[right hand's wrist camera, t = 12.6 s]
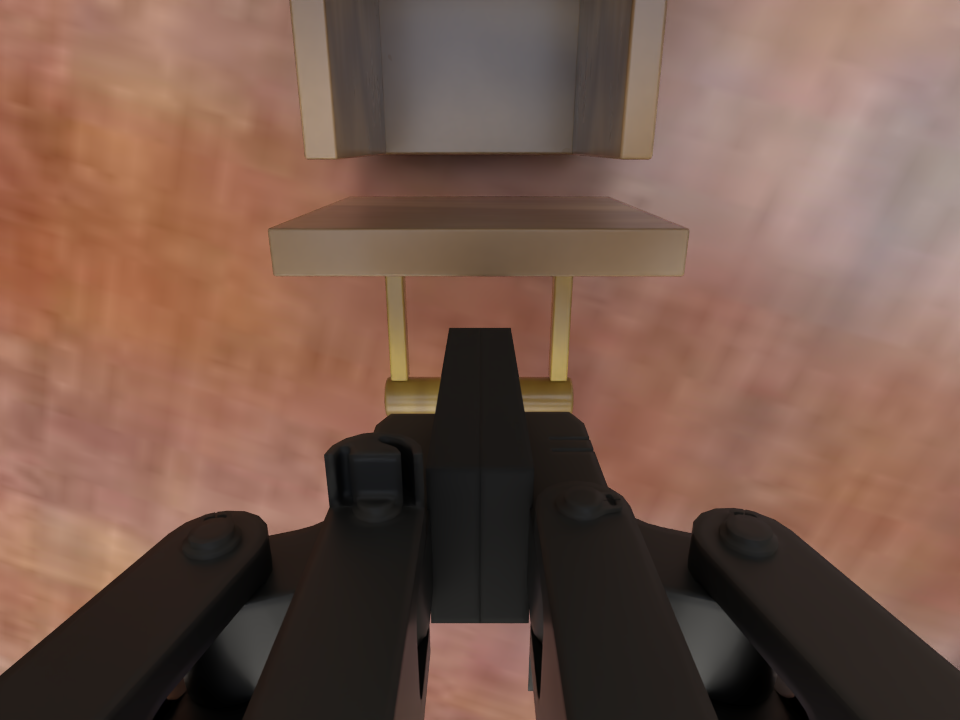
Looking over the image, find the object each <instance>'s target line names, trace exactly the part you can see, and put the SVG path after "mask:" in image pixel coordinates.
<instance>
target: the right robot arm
mask: <svg viewBox="0 0 960 720" xmlns="http://www.w3.org/2000/svg"><path fill="white" fill-rule="evenodd" d="M324 458H325V468H326V477H327V486H328V496H329V505H330V508H329V510H328V513H327V515H326V517H325V520H324V521H323V522H320V523H318V524H316V525H313V526H310V527H307V528H303V529H299V530H295V531H290V532H285V533H280V534H275V535H271V536H269V535H268V528H267V524H266V523H265V522H264V521H263V520H262V519H261V518H260V517H259V516H257V515H254V514H251V513H248V512H245V511H222V512H218V513H210V514H206V515H204V516H201V517H199V518H196V519H194V520H191V521H189V522H186V523H185V524H183V525H181V526H180V527H178V528H177V529H175V530H174V531H172V532H171V533H169V534H168V535H167V536H166V537H164V538H163V539H162V540H161V541H160V542H158V543H157V544H156V545H155V546H154V547H153V548H151V549H150V550H149V551H148V552H147V553H145V554H144V555H143V556H142V557H141V558H139V559H138V560H137V561H136V562H135V563H134V564H132V565H131V566H130V567H129V568H128V569H126V570H125V571H124V572H123V573H122V574H120V575H119V576H118V577H117V578H116V579H114V580H113V581H112V582H111V583H110V584H109V585H107V586H106V587H105V588H104V589H103V590H101V591H100V592H99V593H98V594H97V595H95V596H94V597H93V598H92V599H91V600H90V601H88V602H87V603H86V604H85V605H84V606H82V607H81V608H80V609H79V610H78V611H76V612H75V613H74V614H73V615H72V616H71V617H69V618H68V619H67V620H66V621H65V622H63V623H62V624H61V625H60V626H59V627H57V628H56V629H55V630H54V631H53V632H52V633H50V634H49V635H48V636H47V637H46V638H44V639H43V640H42V641H41V642H40V643H38V644H37V645H36V646H35V647H34V648H33V649H31V650H30V651H29V652H28V653H27V654H25V655H24V656H23V657H22V658H21V659H19V660H18V661H17V662H16V663H15V664H14V665H12V666H11V667H10V668H9V669H8V670H6V671H5V672H4V673H3V674H2V675H0V720H424V714H425V704H426V693H427V682H428V672H429V661H430V629H429V624H430V614H431V623H529V611H530V621H531V629H530V655H529V681H528V691H533V692H534V703H535V713H536V720H960V671H959V670H958V669H957V668H955V667H954V666H953V665H952V664H951V663H949V662H948V661H947V660H946V659H945V658H943V657H942V656H941V655H940V654H939V653H937V652H936V651H935V650H934V649H933V648H931V647H930V646H929V645H928V644H927V643H925V642H924V641H923V640H922V639H921V638H920V637H918V636H917V635H916V634H915V633H914V632H912V631H911V630H910V629H909V628H908V627H906V626H905V625H904V624H903V623H902V622H900V621H899V620H898V619H897V618H896V617H894V616H893V615H892V614H891V613H890V612H888V611H887V610H886V609H885V608H884V607H882V606H881V605H880V604H879V603H878V602H876V601H875V600H874V599H873V598H872V597H870V596H869V595H868V594H867V593H866V592H864V591H863V590H862V589H861V588H860V587H858V586H857V585H856V584H855V583H854V582H852V581H851V580H850V579H849V578H848V577H846V576H845V575H844V574H843V573H842V572H840V571H839V570H838V569H837V568H836V567H834V566H833V565H832V564H831V563H830V562H828V561H827V560H826V559H825V558H824V557H822V556H821V555H820V554H819V553H818V552H816V551H815V550H814V549H813V548H812V547H810V546H809V545H808V544H807V543H806V542H804V541H803V540H802V539H801V538H800V537H798V536H797V535H796V534H795V533H794V532H792V531H791V530H790V529H788V528H787V527H785V526H783V525H782V524H780V523H779V522H777V521H776V520H774V519H771V518H769V517H766V516H764V515H761V514H758V513H756V512H753V511H749V510H743V509H736V508H719V509H713V510H710V511H707V512H704V513H701V514H700V515H699V516H698V517H697V519H696V520H695V521H694V522H693V528H692V533H688V532H683V531H678V530H673V529H668V528H663V527H659V526H655V525H652V524H648V523H646V522H643V521H641V520H639V519H636V518H635V516H634V514H633V512H632V509H631V507H630V505H629V504H628V503H627V501H626V500H625V499H624V497H623V496H622V495H620V494H618V493H617V492H615V491H614V490H612V489H610V488H608V486H607V484H606V481H605V478H604V476H603V473H602V470H601V468H600V465H599V462H598V460H597V457H596V454H595V452H593V446H592V444H591V441H590V440H589V436H588V433H587V430H586V428H585V425H584V423H583V422H581V421H580V420H579V419H578V418H576V417H575V416H574V415H573V414H571V413H570V412H525V410H524V404H523V398H522V392H521V386H520V380H519V374H518V369H517V363H516V357H515V351H514V345H513V339H512V333H511V328H449V333H448V339H447V345H446V351H445V357H444V363H443V369H442V374H441V380H440V386H439V392H438V398H437V404H436V410H435V414H390V415H389V416H388V417H386V418H385V419H384V420H382V421H381V422H380V423H379V424H377V425H376V427H375V430H374V433H364V434H360V435H356V436H353V437H349V438H346V439H344V440H342V441H340V442H338V443H336V444H335V445H333V446H332V447H331V448H330V449H329V450H328V451H327V452H326V453H325V454H324Z"/></svg>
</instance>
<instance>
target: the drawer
mask: <svg viewBox="0 0 960 720" xmlns="http://www.w3.org/2000/svg"><path fill="white" fill-rule="evenodd" d="M289 2H290V12H291V22H292V32H293V42H294V53H295V63H296V73H297V83H298V93H299V103H300V113H301V123H302V133H303V144H304V154H305V158H306V159H344V158H354V157H365V156H375V155H583V156H593V157H603V158H613V159H651V158H652V155H653V145H654V135H655V124H656V114H657V104H658V94H659V84H660V74H661V63H662V53H663V43H664V33H665V23H666V12H667V2H668V0H289ZM268 235H269V243H270V251H271V259H272V267H273V274H274V276H385V283H386V301H387V318H388V336H389V353H390V371H391V377H389V378H387V381H386V385H385V411H386V414H387V416H389V415H390V414H435V410H436V404H437V398H438V392H439V386H440V380H441V377H409V353H408V330H407V308H406V286H405V276H553V286H552V308H551V330H550V353H549V377H519V380H520V386H521V392H522V398H523V404H524V410H525V412H570V413H571V414H572V411H573V385H572V381H571V378H569V377H567V372H568V354H569V337H570V319H571V302H572V284H573V276H683V275H684V270H685V262H686V254H687V246H688V238H689V229H688V228H685V227H683V226H680V225H678V224H675V223H673V222H670V221H668V220H665V219H663V218H660V217H658V216H655V215H653V214H650V213H648V212H645V211H643V210H640V209H638V208H635V207H633V206H630V205H628V204H625V203H623V202H620V201H618V200H615V199H613V198H610V197H348V198H345V199H343V200H340V201H338V202H335V203H333V204H330V205H327V206H325V207H322V208H320V209H317V210H315V211H312V212H310V213H307V214H305V215H302V216H300V217H297V218H294V219H292V220H289V221H287V222H284V223H282V224H279V225H277V226H274V227H272V228H269V229H268Z"/></svg>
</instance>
